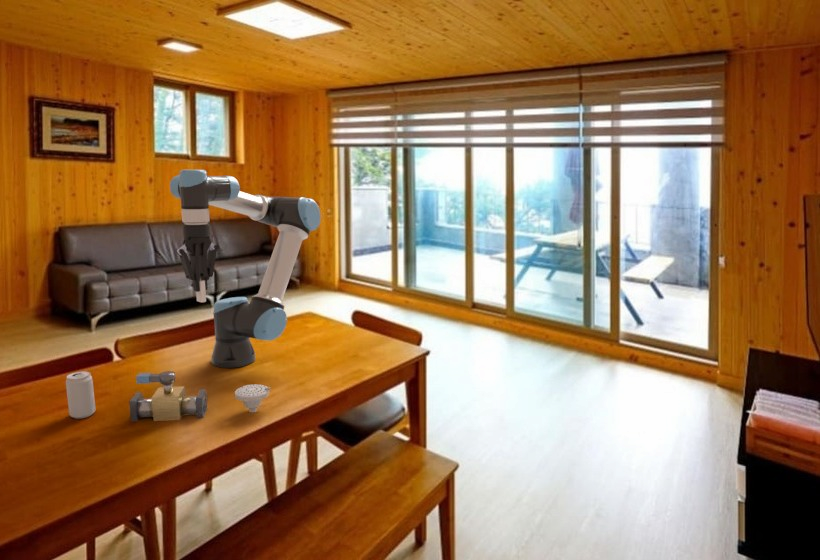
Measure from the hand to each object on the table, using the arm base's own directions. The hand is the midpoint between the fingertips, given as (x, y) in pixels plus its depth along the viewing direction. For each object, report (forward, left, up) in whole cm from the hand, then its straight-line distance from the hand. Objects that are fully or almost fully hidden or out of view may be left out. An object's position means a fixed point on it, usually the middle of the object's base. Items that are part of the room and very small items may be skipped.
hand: (201, 301), depth 166 cm
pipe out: (+2, -20, -29) cm, 36 cm away
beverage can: (-13, -31, -30) cm, 45 cm away
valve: (+6, -16, -29) cm, 34 cm away
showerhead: (+22, +1, -30) cm, 37 cm away
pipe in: (+10, -11, -29) cm, 33 cm away
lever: (+4, -18, -19) cm, 26 cm away
